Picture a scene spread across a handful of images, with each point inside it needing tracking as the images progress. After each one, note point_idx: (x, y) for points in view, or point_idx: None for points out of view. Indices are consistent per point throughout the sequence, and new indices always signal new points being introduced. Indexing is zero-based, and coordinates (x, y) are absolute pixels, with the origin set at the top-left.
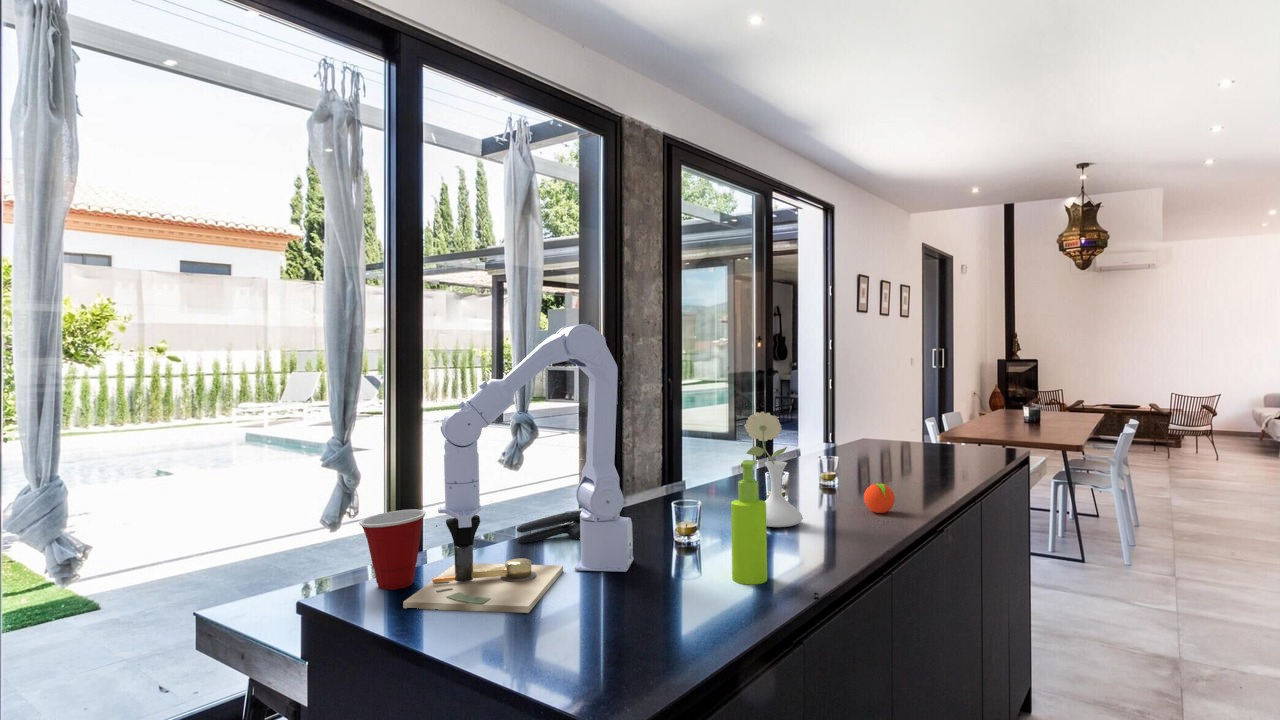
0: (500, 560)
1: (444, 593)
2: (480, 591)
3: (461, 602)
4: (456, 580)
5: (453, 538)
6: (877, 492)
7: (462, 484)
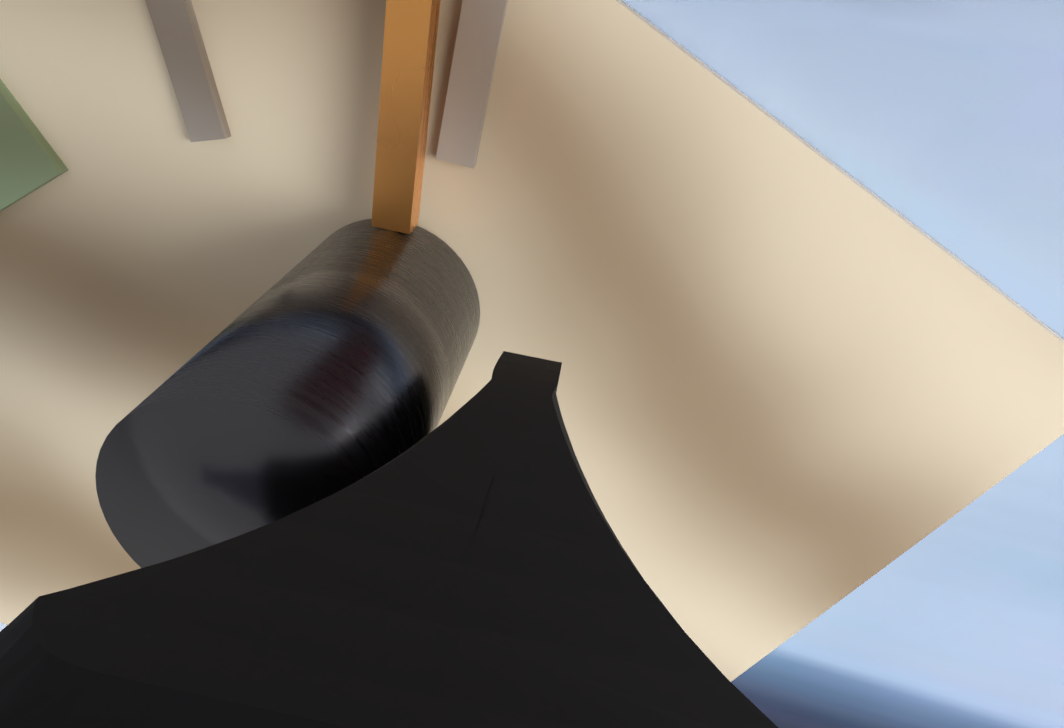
0: (1013, 689)
1: (95, 34)
2: (91, 338)
3: None
4: (349, 225)
5: (335, 500)
6: None
7: None
